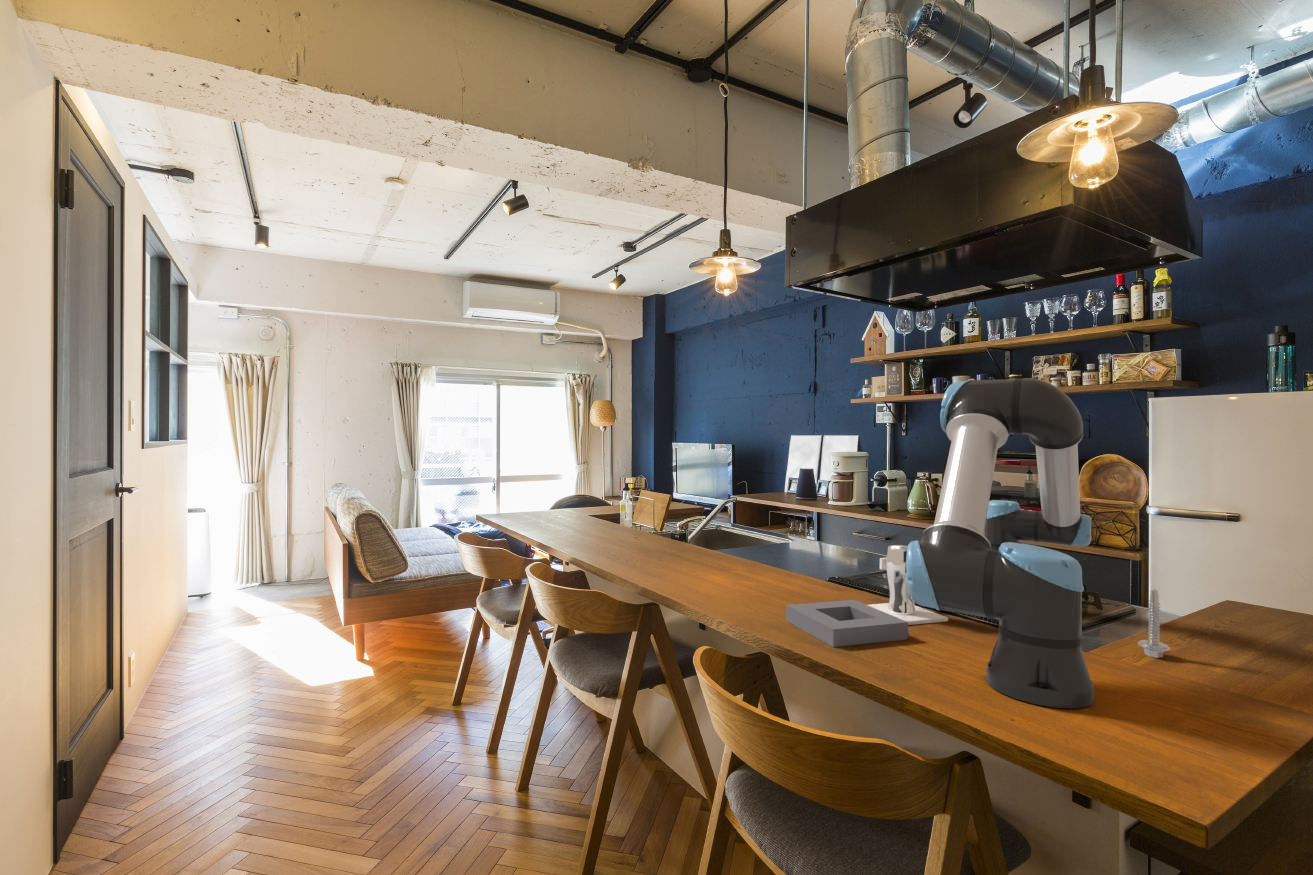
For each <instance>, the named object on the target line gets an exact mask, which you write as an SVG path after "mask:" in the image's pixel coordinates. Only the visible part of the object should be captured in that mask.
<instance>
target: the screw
mask: <svg viewBox="0 0 1313 875" xmlns="http://www.w3.org/2000/svg"><path fill="white" fill-rule="evenodd" d="M1149 596H1150V597H1149V602H1148V608H1149V609H1148V624H1147V626H1148V627H1147V629H1148V631H1147V632H1148V633H1147V635H1148V636H1147V638H1148V639H1140V640H1139V641H1137V645H1138V646H1139V647H1142V649H1144V650H1143V654H1144V655H1146V656H1147V657H1149V658H1156V659H1160V658H1164V652H1168V651H1170V650H1171V647H1170V646H1169V645H1168V644H1166V643H1164V642H1161V640H1160V638H1161V633H1160V632H1161V628H1160V627H1161V625H1160V623H1161V618H1160V617H1161V612H1160V611H1161V606H1160V605H1161V603H1160V600H1159V599H1160V598H1159V597H1160V596H1159V592H1158V590H1157V589H1156V588H1153V589H1151V591H1150V595H1149Z"/></svg>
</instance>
